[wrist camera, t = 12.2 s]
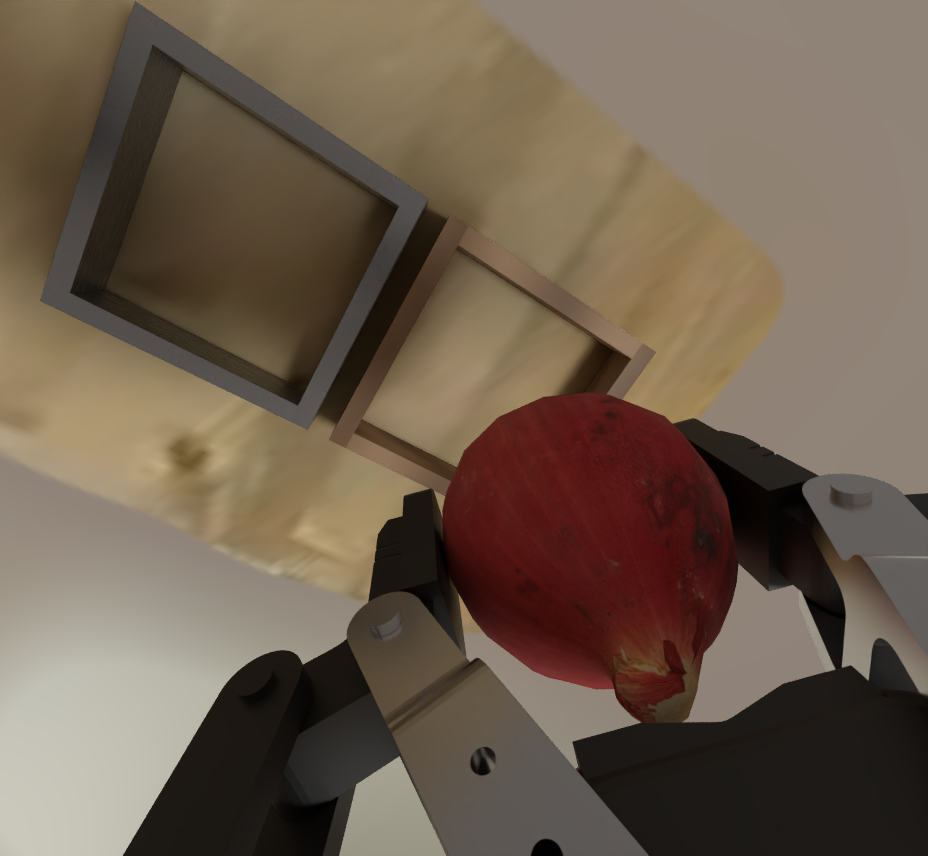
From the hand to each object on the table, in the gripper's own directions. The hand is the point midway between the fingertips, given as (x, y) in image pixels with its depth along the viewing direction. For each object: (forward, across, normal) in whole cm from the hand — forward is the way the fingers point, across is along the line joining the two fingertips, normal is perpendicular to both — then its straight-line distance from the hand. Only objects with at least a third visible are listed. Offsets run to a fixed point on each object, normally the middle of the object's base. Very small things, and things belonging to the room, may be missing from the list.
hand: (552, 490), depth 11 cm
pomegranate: (+2, 0, 0) cm, 2 cm away
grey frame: (+11, +8, -8) cm, 16 cm away
